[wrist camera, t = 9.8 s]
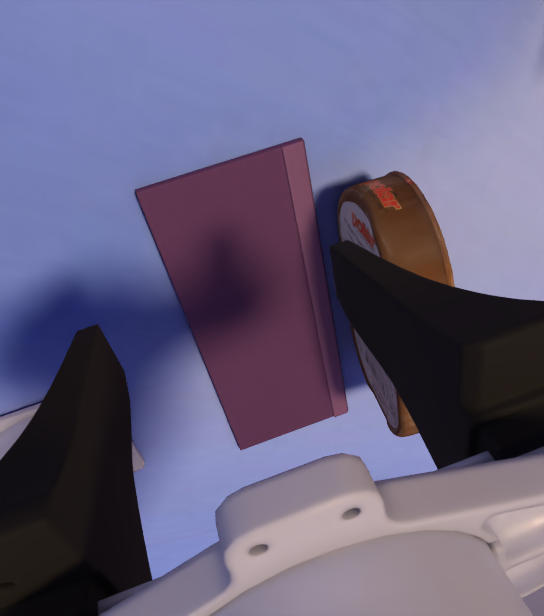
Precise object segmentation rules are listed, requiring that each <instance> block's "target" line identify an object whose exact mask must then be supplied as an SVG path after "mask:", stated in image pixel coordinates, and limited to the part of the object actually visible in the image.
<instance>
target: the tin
mask: <svg viewBox="0 0 544 616" xmlns="http://www.w3.org/2000/svg"><path fill="white" fill-rule="evenodd" d="M337 217H338V230H339V238H340V242H343V241H346V240H349V241H351V242H353V243H355V244H357V245H359V246H360V247H362V248H364V249H366V250H368V251H370V252H371V253H373V254H375V255H377V256H379V257H381V258H383V259H385V260H387V261H389V262H391V263H393V264H395V265H397V266H399V267H401V268H404V269H406V270H408V271H410V272H413V273H415V274H418V275H420V276H422V277H425V278H428V279H431V280H433V281H437V282H440V283H443V284H446V285H449V286H452V287H455V286H454V280H453V272H452V268H451V264H450V260H449V256H448V251H447V249H446V245H445V241H444V238H443V235H442V232H441V230H440V227H439V224H438V222H437V220H436V218H435V215H434V213H433V211H432V209H431V207H430V205H429V203H428V202H427V200H426V198H425V197H424V195H423V194H422V192H421V190H420V189H419V188H418V186H417V185H416V184H415V183H414V182H413V181H412V180H411V179H410V178H409V177H408V176H407V175H405V174H404V173H401V172H398V171H393V172H390V173H388V174H387V175H386V176H383V177H380V178H376V179H373V180H369V181H366V182H362V183H359V184H356V185H353V186H351V187H349V188H347V189H346V190H345V191H344V192H343V193H342V194H341V196H340V199H339V203H338V214H337ZM350 325H351V323H350ZM351 330H352V335H353V340H354V344H355V348H356V352H357V356H358V359H359V362H360V365H361V369H362V371H363V374H364V377H365V380H366V382H367V384H368V386H369V388H370V389H371V391H372V392H373V394H374V395H375V397H376V399H377V401H378V403H379V406H380V408H381V410H382V412H383V414H384V416H385V418H386V420H387V425H388V427H389V429H390V430H391V432H392V433H393V434H394V435H396V436H398V437H406V436H410V435H414V434H417V433H419V431H418V429H417V427H416V425H415V423H414V422H413V420H412V418H411V416H410V414H409V412H408V410H407V408H406V407H405V405H404V403H403V401H402V399H401V398H400V396H399V394H398V392H397V390H396V389H395V387H394V385H393V383H392V382H391V380H390V379H389V377H388V376H387V374H386V372H385V371H384V370H383V368H382V367H381V365H380V364H379V363H378V361H377V360H376V359H375V357H374V356H373V354H372V353H371V352H370V350H369V349H368V347H367V346H366V345H365V343H364V342H363V340H362V339H361V338H360V336H359V335H358V333H357V332H356V331H355V329H354V328H353V326H352V325H351Z"/></svg>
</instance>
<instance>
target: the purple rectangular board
mask: <svg viewBox="0 0 544 616" xmlns="http://www.w3.org/2000/svg"><path fill="white" fill-rule="evenodd" d="M135 191H136V195H137V197H138V200H139V202H140V205H141V207H142V210H143V212H144V215H145V217H146V219H147V222H148V224H149V227H150V229H151V232H152V234H153V237H154V239H155V241H156V244H157V246H158V249H159V251H160V254H161V256H162V259H163V261H164V264H165V266H166V268H167V271H168V273H169V276H170V278H171V281H172V283H173V286H174V288H175V291H176V293H177V295H178V298H179V300H180V303H181V305H182V308H183V310H184V313H185V315H186V318H187V320H188V322H189V325H190V327H191V330H192V332H193V335H194V337H195V340H196V342H197V344H198V347H199V349H200V352H201V354H202V357H203V359H204V362H205V364H206V367H207V369H208V371H209V374H210V376H211V379H212V381H213V384H214V386H215V389H216V391H217V394H218V396H219V398H220V401H221V403H222V406H223V408H224V411H225V413H226V416H227V418H228V421H229V423H230V425H231V428H232V430H233V433H234V435H235V438H236V440H237V443H238V445H239V447H240V450H243V449H246V448H248V447H251V446H254V445H256V444H259V443H262V442H265V441H267V440H270V439H273V438H275V437H278V436H281V435H284V434H286V433H289V432H292V431H294V430H297V429H300V428H303V427H305V426H308V425H311V424H313V423H316V422H319V421H322V420H324V419H327V418H330V417H332V416H334V417H336V416H339V415H342V414H345V413H347V412H348V406H347V400H346V394H345V388H344V382H343V376H342V369H341V363H340V357H339V351H338V345H337V339H336V333H335V327H334V321H333V315H332V308H331V302H330V296H329V290H328V284H327V278H326V272H325V266H324V260H323V254H322V248H321V241H320V235H319V229H318V223H317V217H316V211H315V205H314V199H313V193H312V187H311V180H310V174H309V168H308V162H307V156H306V150H305V144H304V140H303V139H302V138H298V139H295V140H292V141H289V142H285V143H282V144H279V145H276V146H273V147H270V148H266V149H263V150H260V151H257V152H254V153H250V154H247V155H244V156H241V157H238V158H235V159H231V160H228V161H225V162H222V163H219V164H215V165H212V166H209V167H206V168H203V169H200V170H196V171H193V172H190V173H187V174H184V175H180V176H177V177H174V178H171V179H168V180H164V181H161V182H158V183H155V184H152V185H149V186H145V187H142V188H139V189H136V190H135Z"/></svg>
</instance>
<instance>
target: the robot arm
mask: <svg viewBox="0 0 544 616" xmlns="http://www.w3.org/2000/svg"><path fill="white" fill-rule="evenodd" d="M329 248H330V254H331V261H332V267H333V274H334V281H335V287H336V294H337V299H338V300H339V302H340V304H341V306H342V308H343V310H344V312H345V314H346V316H347V318H348V320H349V322H350V323H351V325H352V326H353V328H354V329H355V331H356V332H357V333H358V335H359V336H360V338H361V339H362V340H363V342H364V343H365V345H366V346H367V347H368V349H369V350H370V352H371V353H372V354H373V356H374V357H375V359H376V360H377V361H378V363H379V364H380V365H381V367H382V368H383V370H384V371H385V372H386V374H387V376H388V377H389V379H390V380H391V382H392V383H393V385H394V387H395V389H396V390H397V392H398V394H399V396H400V398H401V399H402V401H403V403H404V405H405V407H406V408H407V410H408V412H409V414H410V416H411V418H412V420H413V422H414V423H415V425H416V427H417V429H418V431H419V433H420V435H421V437H422V439H423V441H424V443H425V445H426V447H427V449H428V451H429V453H430V455H431V457H432V459H433V461H434V463H435V465H436V467H437V469H438V470H436V471H433V472H427V473H421V474H415V475H409V476H403V477H397V478H391V479H385V480H379V481H373V479H372V477H371V475H370V473H369V471H368V469H367V467H366V465H365V464H364V462H363V461H362V460H361V458H360V457H358V456H354V455H349V454H344V453H340V454H335V455H330V456H326V457H323V458H320V459H317V460H315V461H312V462H309V463H307V464H304V465H301V466H299V467H296V468H293V469H291V470H288V471H285V472H283V473H280V474H277V475H275V476H272V477H269V478H267V479H264V480H261V481H259V482H256V483H253V484H251V485H248V486H245V487H243V488H241V489H239V490H238V491H236V492H234V493H232V494H231V495H229V496H227V497H226V499H225V500H224V501H223V502H222V504H221V505H220V506H219V507H218V509H217V510H216V511H215V513H216V527H217V531H218V536H219V541H218V542H216V543H215V544H213V545H211V546H210V547H208V548H207V549H205V550H203V551H202V552H200V553H199V554H197V555H195V556H194V557H192V558H191V559H189V560H187V561H186V562H184V563H183V564H181V565H179V566H178V567H176V568H175V569H173V570H171V571H170V572H168V573H167V574H165V575H163V576H162V577H159V578H157V579H154V580H152V576H151V572H150V567H149V562H148V557H147V551H146V546H145V541H144V536H143V531H142V525H141V519H140V513H139V508H138V502H137V495H136V489H135V482H134V474H133V472H135V471H138V470H140V469H142V468H143V467H144V465H145V463H144V459H143V457H142V455H141V454H140V452H139V451H138V449H137V447H136V446H135V444H134V443H133V441H132V435H131V411H130V398H129V392H128V387H127V382H126V377H125V371H124V370H123V368H122V366H121V364H120V363H119V361H118V359H117V357H116V355H115V354H114V352H113V350H112V348H111V347H110V345H109V343H108V341H107V339H106V338H105V336H104V334H103V332H102V331H101V329H100V327H99V325H98V324H96V325H93V326H90V327H87V328H84V329H81V330H79V331H77V333H76V335H75V337H74V339H73V341H72V343H71V345H70V347H69V350H68V352H67V354H66V356H65V358H64V360H63V363H62V365H61V367H60V369H59V371H58V373H57V375H56V377H55V379H54V381H53V383H52V385H51V387H50V389H49V390H48V392H47V394H46V396H45V398H44V399H43V401H42V403H39V404H36V405H33V406H30V407H27V408H25V409H22V410H19V411H16V412H13V413H10V414H7V415H4V416H2V417H0V616H533V615H532V614H531V612H530V611H529V609H528V607H527V606H526V604H525V603H524V601H523V600H522V598H523V597H525V596H527V595H529V594H530V593H532V592H534V591H536V590H538V589H539V588H541V587H543V586H544V301H535V300H521V299H512V298H505V297H498V296H492V295H487V294H481V293H477V292H472V291H468V290H464V289H460V288H456V287H452V286H449V285H446V284H443V283H440V282H437V281H433V280H431V279H428V278H425V277H422V276H420V275H418V274H415V273H413V272H410V271H408V270H406V269H404V268H401V267H399V266H397V265H395V264H393V263H391V262H389V261H387V260H385V259H383V258H381V257H379V256H377V255H375V254H373V253H371V252H370V251H368V250H366V249H364V248H362V247H360V246H359V245H357V244H355V243H353V242H351V241H349V240H346V241H343V242H340V243H337V244H334V245H331V246H329Z"/></svg>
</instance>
